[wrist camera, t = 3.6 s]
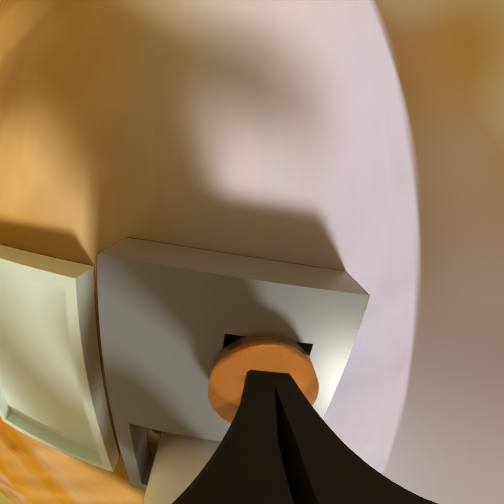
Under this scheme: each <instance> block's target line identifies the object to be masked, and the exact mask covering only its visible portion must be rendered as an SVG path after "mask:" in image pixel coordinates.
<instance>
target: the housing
mask: <svg viewBox="0 0 504 504" xmlns="http://www.w3.org/2000/svg"><path fill="white" fill-rule="evenodd" d="M97 287H98V311H99V325H100V337H101V347H102V356H103V364H104V371H105V378H106V385H107V391H108V397H109V402H110V408H111V413H112V417H113V422H114V427H115V431H116V435H117V439H118V444H119V447H120V451H121V455H122V459H123V462H124V466H125V469H126V472H127V476H128V479H129V482H130V485H131V486H134V487H138V488H141V489H145V490H146V489H147V485H148V481H149V477H150V473H151V470H152V466H153V462H154V459H155V456H151V455H150V454H149V447H148V439H147V431H146V428H150V429H154V430H159V431H163V432H168V433H173V434H178V435H183V436H189V437H194V438H201V439H207V440H214V441H222V440H223V438H224V436H225V434H226V433H227V431H228V429H229V427H230V425H231V423H229V422H228V421H226V420H224V419H223V418H222V417H220V416H219V415H218V414H217V413H216V412H215V410H214V409H213V408H212V406H211V404H210V402H209V398H208V385H209V379H210V372H211V367H212V364H213V361H214V359H215V358H216V356H217V355H218V354H219V352H220V351H221V350H222V349H223V343H224V337H225V334H232V335H239V336H246V337H247V336H251V335H257V334H271V335H278V336H282V337H285V338H288V339H290V340H293V341H294V342H296V343H298V344H299V345H300V346H301V347H303V348H304V349H305V351H306V352H307V353H308V355H309V356H310V358H311V361H312V364H313V367H314V370H315V372H316V375H317V378H318V383H319V392H318V396H317V399H316V401H315V403H314V405H313V408H314V409H315V410H316V412H317V413H318V414H319V415H320V417H321V418H322V419H323V417H324V414H325V412H326V410H327V408H328V406H329V403H330V401H331V399H332V397H333V394H334V392H335V390H336V387H337V385H338V383H339V380H340V378H341V375H342V373H343V370H344V368H345V365H346V363H347V360H348V358H349V355H350V352H351V350H352V347H353V344H354V342H355V339H356V336H357V333H358V330H359V327H360V324H361V322H362V319H363V316H364V312H365V309H366V306H367V303H368V300H369V297H370V295H369V294H368V293H367V292H366V291H365V290H364V289H363V288H362V287H361V286H360V285H359V284H358V283H357V282H356V281H355V280H354V279H353V278H352V277H351V276H350V275H349V274H348V273H347V272H345V271H339V270H332V269H326V268H319V267H313V266H306V265H300V264H293V263H286V262H280V261H274V260H267V259H261V258H254V257H248V256H241V255H235V254H229V253H222V252H216V251H209V250H203V249H197V248H190V247H184V246H178V245H172V244H165V243H159V242H153V241H147V240H140V239H134V238H128V237H125V238H123V239H121V240H119V241H118V242H116V243H114V244H112V245H111V246H109V247H107V248H105V249H104V250H102V251H100V252H98V253H97Z"/></svg>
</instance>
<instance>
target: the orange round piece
mask: <svg viewBox="0 0 504 504" xmlns="http://www.w3.org/2000/svg"><path fill="white" fill-rule="evenodd" d="M249 370H258V371H268V372H279V373H289V374H290V375H291V376H292V378H293V379H294V381H295V382H296V384H297V385H298V387H299V388H300V390H301V391H302V392H303V394H304V395H305V397H306V398H307V400H308V401H309V402H310V404H311V405H312V406H313V405H314V403H315V401H316V399H317V396H318V392H319V383H318V378H317V375H316V372H315V370H314V367H313V364H312V361H311V358H310V356H309V355H308V353H307V352H306V351H305V349H304V348H303V347H301V346H300V345H299V344H298V343H296V342H294V341H293V340H290V339H288V338H285V337H282V336H278V335H271V334H257V335H251V336H247V337H246V336H239V335H234V336H233V342H232V343H230V344H229V345H227V346H226V347H225V348H223V349H222V350H221V351H220V352H219V354H218V355H217V356H216V358H215V359H214V361H213V364H212V367H211V372H210V379H209V385H208V398H209V402H210V404H211V406H212V408H213V409H214V410H215V412H216V413H217V414H218V415H219V416H220V417H222V418H223V419H224V420H226V421H228V422H229V423H232V421H233V419H234V417H235V415H236V413H237V410H238V408H239V405H240V401H241V396H242V392H243V387H244V382H245V378H246V373H247V372H248V371H249Z"/></svg>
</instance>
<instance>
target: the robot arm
mask: <svg viewBox="0 0 504 504" xmlns="http://www.w3.org/2000/svg"><path fill="white" fill-rule="evenodd" d="M172 504H437V503H435V502H432V501H429V500H427V499H424V498H422V497H420V496H418V495H416V494H414V493H412V492H410V491H408V490H406V489H404V488H403V487H401V486H399V485H397V484H396V483H394V482H392V481H391V480H389V479H388V478H386V477H385V476H383V475H382V474H380V473H379V472H378V471H376V470H375V469H373V468H372V467H371V466H369V465H368V464H367V463H366V462H364V461H363V460H362V459H361V458H360V457H359V456H357V455H356V454H355V453H354V452H353V451H352V450H351V449H349V448H348V447H347V446H346V445H345V444H344V443H343V442H342V441H341V440H340V439H339V438H338V436H337V435H336V434H335V433H334V432H333V431H332V430H331V429H330V428H329V426H328V425H327V424H326V423H325V422H324V420H323V419H322V418H321V417H320V415H319V414H318V413H317V412H316V410H315V409H314V408H313V406H312V405H311V404H310V402H309V401H308V400H307V398H306V397H305V395H304V394H303V392H302V391H301V390H300V388H299V387H298V385H297V384H296V382H295V381H294V379H293V378H292V376H291V375H290V374H289V373H279V372H268V371H258V370H249V371H248V372H247V373H246V378H245V382H244V387H243V392H242V396H241V401H240V405H239V408H238V410H237V413H236V415H235V417H234V419H233V421H232V423H231V425H230V427H229V429H228V431H227V433H226V434H225V436H224V438H223V440H222V441H221V443H220V445H219V446H218V448H217V449H216V451H215V452H214V454H213V455H212V457H211V458H210V460H209V461H208V462H207V464H206V465H205V466H204V468H203V469H202V470H201V472H200V473H199V474H198V476H197V477H196V478H195V479H194V480H193V482H192V483H191V484H190V485H189V486H188V487H187V488H186V489H185V490H184V492H183V493H182V494H181V495H180V496H179V497H178V498H177V499H176V500H175V501H174V502H173V503H172Z"/></svg>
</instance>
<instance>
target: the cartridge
mask: <svg viewBox="0 0 504 504" xmlns="http://www.w3.org/2000/svg"><path fill="white" fill-rule="evenodd" d="M220 443H221V441H214V440H207V439H201V438H194V437H189V436H183V435H178V434H173V433H168V432H163V431H162V433H161V437H160V440H159V444H158V448H157V451H156V455H155V459H154V462H153V466H152V470H151V473H150V477H149V481H148V485H147V489H146V493H145V497H144V501H143V504H172V503H173V502H174V501H175V500H176V499H177V498H178V497H179V496H180V495H181V494H182V493H183V492H184V490H185V489H186V488H187V487H188V486H189V485H190V484H191V483H192V482H193V480H194V479H195V478H196V477H197V476H198V474H199V473H200V472H201V470H202V469H203V468H204V466H205V465H206V464H207V462H208V461H209V460H210V458H211V457H212V455H213V454H214V452H215V451H216V449H217V448H218V446H219V445H220Z"/></svg>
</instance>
